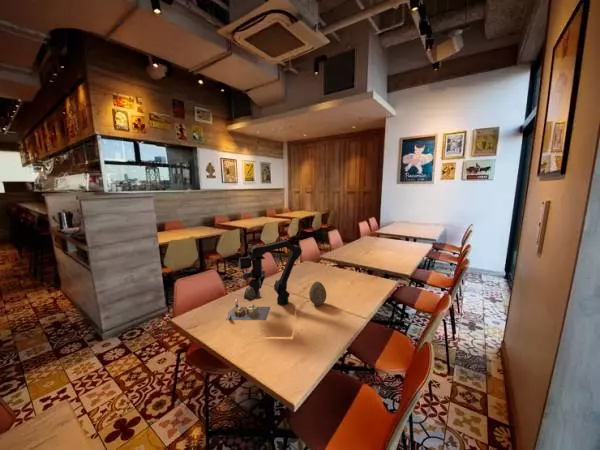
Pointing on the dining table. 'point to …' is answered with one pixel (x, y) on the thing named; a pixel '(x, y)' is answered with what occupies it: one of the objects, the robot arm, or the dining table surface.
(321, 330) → the dining table surface
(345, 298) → the dining table surface
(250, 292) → the grey rock
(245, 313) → the carrier
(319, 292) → the decorative egg
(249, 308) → the hollow octagonal tube
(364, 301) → the dining table surface
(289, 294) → the robot arm
